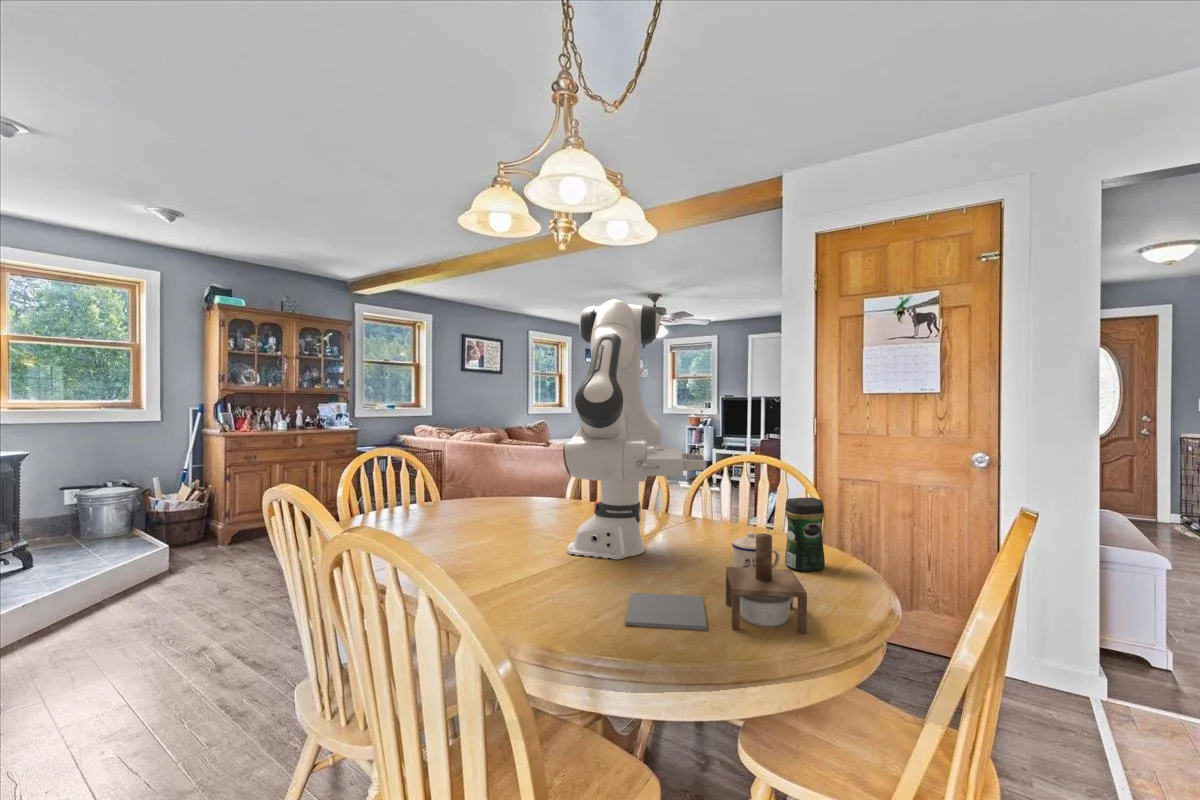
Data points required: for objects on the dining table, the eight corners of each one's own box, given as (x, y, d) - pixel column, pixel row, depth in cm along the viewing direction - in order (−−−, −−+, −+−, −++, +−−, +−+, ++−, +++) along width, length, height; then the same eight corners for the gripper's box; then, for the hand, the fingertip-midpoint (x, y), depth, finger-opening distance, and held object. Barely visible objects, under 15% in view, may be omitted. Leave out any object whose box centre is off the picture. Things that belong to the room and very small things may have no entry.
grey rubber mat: (625, 625, 111) (625, 621, 111) (631, 596, 127) (631, 592, 127) (706, 630, 109) (706, 626, 109) (702, 599, 125) (702, 596, 125)
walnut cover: (732, 629, 109) (732, 543, 109) (725, 602, 123) (726, 526, 123) (806, 633, 107) (807, 546, 107) (791, 606, 121) (791, 528, 121)
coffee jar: (812, 562, 153) (813, 494, 152) (829, 571, 145) (830, 500, 144) (779, 563, 151) (780, 495, 151) (795, 573, 143) (795, 501, 143)
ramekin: (759, 633, 108) (759, 606, 108) (724, 612, 118) (724, 587, 118) (804, 623, 112) (804, 597, 112) (766, 604, 123) (766, 580, 123)
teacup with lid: (739, 586, 134) (740, 537, 133) (726, 573, 143) (726, 528, 142) (787, 584, 135) (787, 536, 135) (771, 572, 144) (771, 527, 144)
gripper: (635, 450, 108) (708, 452, 106) (641, 441, 128) (702, 442, 126) (635, 483, 108) (707, 485, 106) (641, 468, 128) (702, 470, 126)
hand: (704, 461), depth 116 cm, fingers open, 8 cm apart
